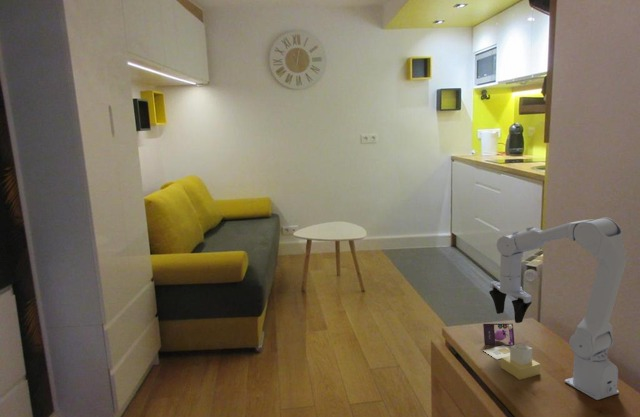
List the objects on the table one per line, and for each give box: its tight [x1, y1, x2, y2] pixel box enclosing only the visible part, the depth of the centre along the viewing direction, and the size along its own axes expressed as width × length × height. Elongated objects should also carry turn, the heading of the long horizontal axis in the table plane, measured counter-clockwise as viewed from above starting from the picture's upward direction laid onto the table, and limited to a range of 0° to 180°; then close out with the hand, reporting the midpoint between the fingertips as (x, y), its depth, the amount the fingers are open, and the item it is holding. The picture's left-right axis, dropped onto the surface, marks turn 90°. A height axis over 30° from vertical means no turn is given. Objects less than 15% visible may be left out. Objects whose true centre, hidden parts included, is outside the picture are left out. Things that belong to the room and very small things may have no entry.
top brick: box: [509, 342, 533, 366], centre depth 125 cm, size 4×4×5 cm
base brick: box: [500, 356, 541, 381], centre depth 126 cm, size 7×7×3 cm
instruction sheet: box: [482, 345, 510, 361], centre depth 136 cm, size 6×8×1 cm
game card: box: [482, 323, 515, 347], centre depth 143 cm, size 7×5×9 cm
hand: (509, 317), depth 136 cm, fingers open, 7 cm apart
